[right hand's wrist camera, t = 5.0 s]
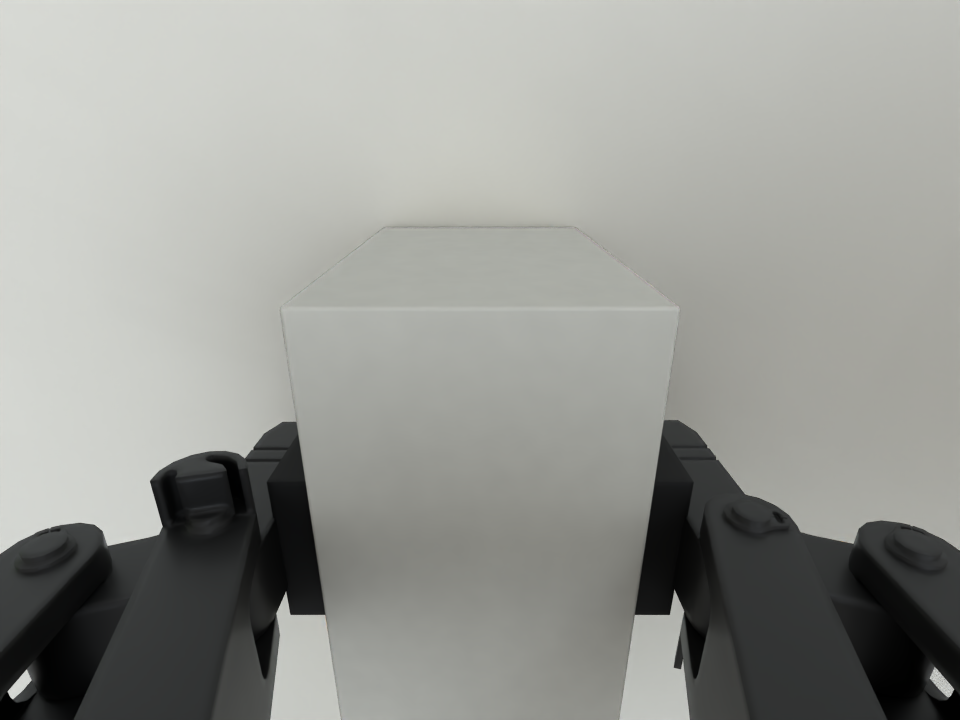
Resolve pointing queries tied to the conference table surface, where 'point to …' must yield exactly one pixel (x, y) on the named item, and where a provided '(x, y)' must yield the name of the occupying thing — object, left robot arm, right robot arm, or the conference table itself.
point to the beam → (480, 467)
